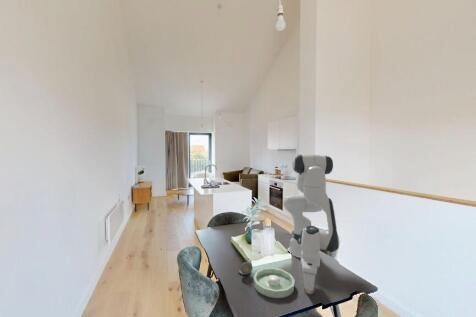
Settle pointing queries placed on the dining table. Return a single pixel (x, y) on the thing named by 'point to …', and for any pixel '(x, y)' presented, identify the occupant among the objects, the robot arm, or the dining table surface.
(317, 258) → the robot arm
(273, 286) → the groove tray
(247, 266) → the pocket watch
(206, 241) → the dining table surface
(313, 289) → the bead
